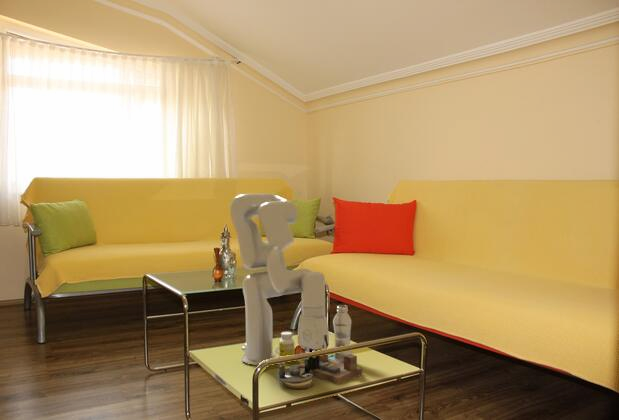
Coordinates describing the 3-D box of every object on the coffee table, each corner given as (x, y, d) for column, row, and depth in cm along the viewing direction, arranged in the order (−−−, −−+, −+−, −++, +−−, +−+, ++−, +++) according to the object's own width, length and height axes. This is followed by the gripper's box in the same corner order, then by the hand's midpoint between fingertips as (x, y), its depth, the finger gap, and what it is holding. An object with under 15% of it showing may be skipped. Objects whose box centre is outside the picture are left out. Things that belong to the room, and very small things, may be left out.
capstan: (269, 384, 167) (268, 363, 167) (292, 373, 176) (292, 354, 176) (298, 392, 160) (298, 371, 160) (321, 381, 169) (321, 361, 169)
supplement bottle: (277, 358, 193) (277, 331, 193) (292, 357, 195) (292, 330, 194) (281, 363, 188) (281, 335, 188) (296, 361, 190) (296, 334, 189)
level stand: (298, 370, 180) (298, 351, 180) (322, 362, 189) (322, 344, 188) (337, 384, 167) (337, 364, 167) (362, 374, 176) (362, 355, 176)
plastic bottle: (352, 365, 185) (352, 308, 184) (333, 365, 185) (332, 308, 185) (351, 359, 192) (351, 304, 191) (332, 359, 192) (332, 304, 191)
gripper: (288, 310, 171) (289, 366, 172) (322, 317, 160) (323, 377, 161) (305, 306, 176) (306, 361, 177) (338, 312, 166) (339, 371, 166)
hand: (314, 368), depth 169 cm, fingers closed
